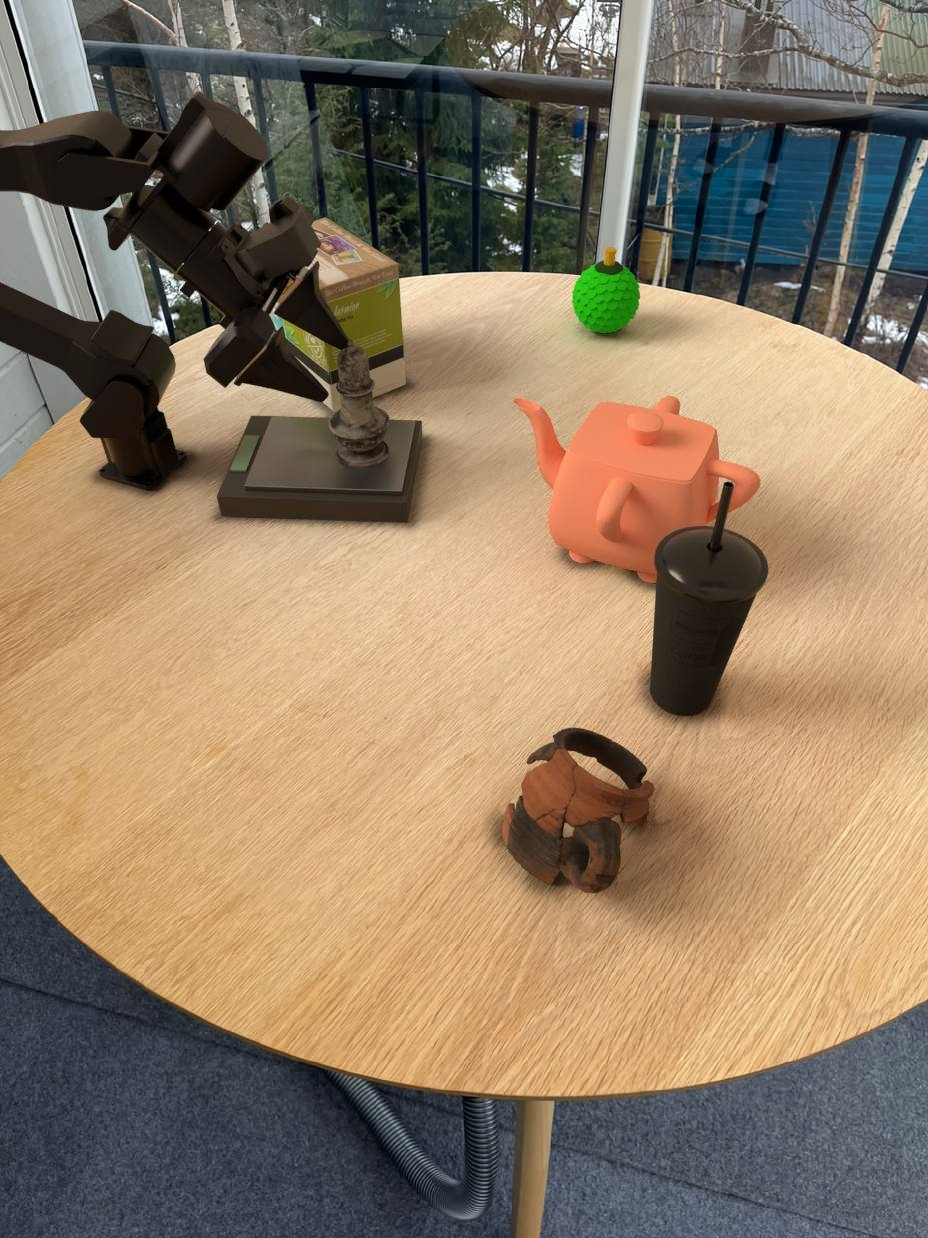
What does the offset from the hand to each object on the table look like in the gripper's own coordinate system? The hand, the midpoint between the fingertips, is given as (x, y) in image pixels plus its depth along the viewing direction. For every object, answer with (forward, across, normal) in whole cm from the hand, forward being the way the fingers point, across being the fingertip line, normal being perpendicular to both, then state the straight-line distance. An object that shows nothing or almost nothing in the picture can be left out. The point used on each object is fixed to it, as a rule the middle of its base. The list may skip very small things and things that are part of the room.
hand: (337, 371), depth 86 cm
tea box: (+4, +20, +12) cm, 24 cm away
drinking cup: (+31, -25, -14) cm, 42 cm away
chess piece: (+7, 0, +5) cm, 9 cm away
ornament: (+26, +33, -9) cm, 43 cm away
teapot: (+27, -7, -11) cm, 30 cm away
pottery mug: (+26, -40, -9) cm, 48 cm away
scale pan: (+6, 0, +7) cm, 9 cm away
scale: (+7, 0, +10) cm, 12 cm away
